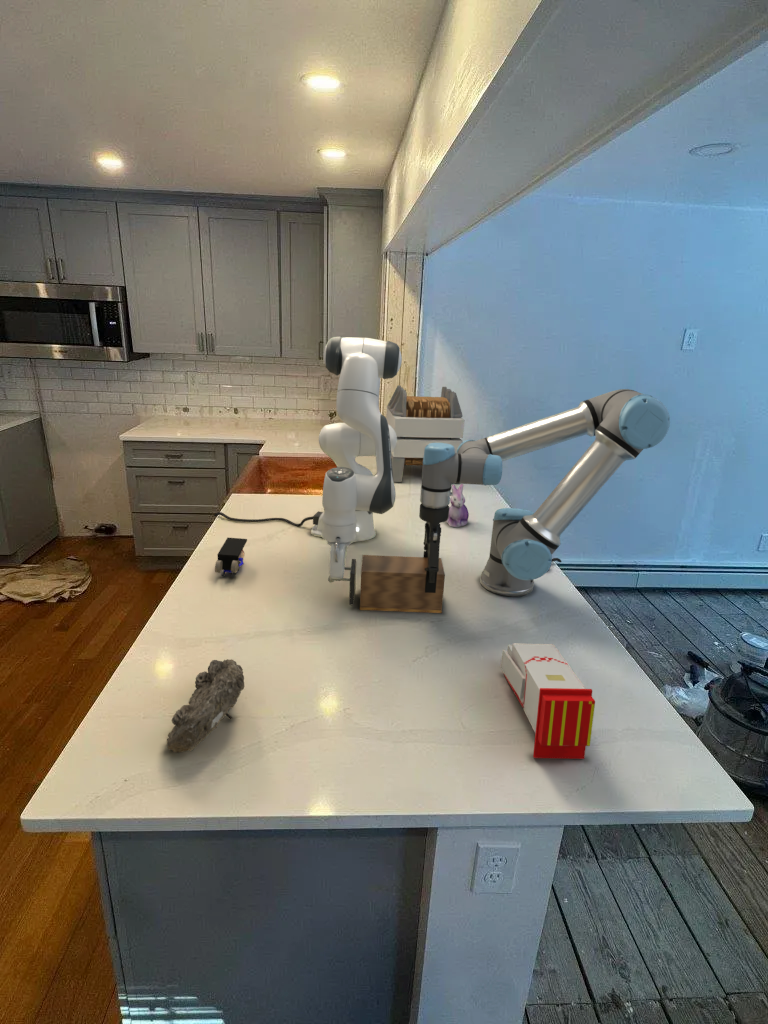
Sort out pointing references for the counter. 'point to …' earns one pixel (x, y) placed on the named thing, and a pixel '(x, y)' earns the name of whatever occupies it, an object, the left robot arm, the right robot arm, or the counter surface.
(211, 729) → the fossil
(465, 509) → the figurine
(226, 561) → the black wheeled block
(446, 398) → the transformer
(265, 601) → the counter surface
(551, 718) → the toy
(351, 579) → the drawer
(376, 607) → the cabinet
